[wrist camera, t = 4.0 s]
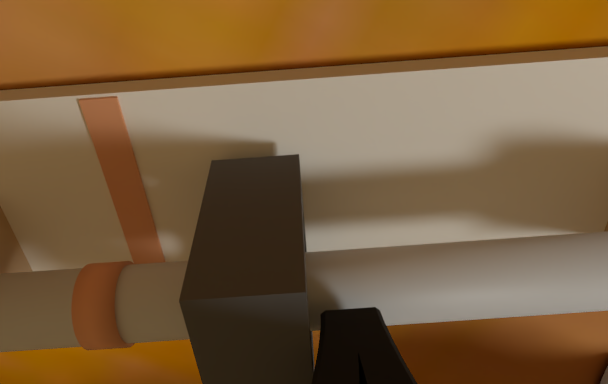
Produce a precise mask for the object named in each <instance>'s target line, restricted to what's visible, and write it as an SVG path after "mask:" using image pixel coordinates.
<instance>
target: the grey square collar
mask: <svg viewBox="0 0 608 384" xmlns="http://www.w3.org/2000/svg"><path fill="white" fill-rule="evenodd" d="M305 252H307V248H306V236H305V223H304V210H303V198H302V185H301V172H300V160H299V154H295V155H281V156H267V157H253V158H239V159H225V160H212V161H211V165H210V170H209V174H208V178H207V182H206V187H205V191H204V195H203V200H202V204H201V208H200V212H199V217H198V221H197V225H196V230H195V234H194V238H193V242H192V247H191V251H190V255H189V260H188V264H187V268H186V272H185V277H184V281H183V285H182V290H181V294H180V298H179V303H180V307H181V310H182V314H183V317H184V321H185V324H186V328H187V331H188V335H189V338H190V341H191V345H192V348H193V352H194V355H195V359H196V362H197V366H198V369H199V373H200V376H201V380H202V383H203V384H311V383H312V379H313V374H314V353H313V336H312V331H310V321H309V309H308V297H307V281H306V261H305Z"/></svg>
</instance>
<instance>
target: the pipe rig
mask: <svg viewBox="0 0 608 384" xmlns="http://www.w3.org/2000/svg"><path fill="white" fill-rule="evenodd" d="M295 154H299V160H300V172H301V185H302V198H303V210H304V223H305V236H306V248H307V252H305V261H306V281H307V297H308V309H309V321H310V331H315V330H320V328H321V317H320V314H321V313H323V312H324V311H325V310H339V309H354V308H368V307H376V308H377V309H379V310H380V312H381V314H382V317H383V319H384V322H385V324H386V326H388V325H403V324H418V323H432V322H447V321H461V320H476V319H491V318H505V317H520V316H534V315H549V314H564V313H578V312H593V311H607V310H608V46H602V47H588V48H575V49H561V50H547V51H533V52H520V53H506V54H492V55H478V56H465V57H451V58H437V59H423V60H410V61H396V62H382V63H369V64H355V65H341V66H327V67H314V68H300V69H286V70H272V71H259V72H245V73H231V74H217V75H204V76H190V77H176V78H162V79H149V80H135V81H121V82H107V83H94V84H80V85H66V86H52V87H39V88H25V89H11V90H0V352H9V351H23V350H38V349H53V348H67V347H83V348H84V349H86V350H98V349H112V348H127V347H131V346H132V345H134V343H140V342H155V341H169V340H184V339H190V338H189V335H188V331H187V328H186V324H185V321H184V317H183V314H182V310H181V307H180V303H179V298H180V294H181V290H182V285H183V281H184V277H185V272H186V268H187V264H188V260H189V255H190V251H191V247H192V242H193V238H194V234H195V230H196V225H197V221H198V217H199V212H200V208H201V204H202V200H203V195H204V191H205V187H206V182H207V178H208V174H209V170H210V165H211V161H212V160H225V159H239V158H253V157H267V156H281V155H295Z"/></svg>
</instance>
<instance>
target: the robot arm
mask: <svg viewBox="0 0 608 384" xmlns="http://www.w3.org/2000/svg"><path fill="white" fill-rule="evenodd" d="M320 317H321V328H320V340H319V348H318V354H317V360H316V365H315V370H314V374H313V379H312V383H311V384H417V382H416V381H415V379H414V377H413V376H412V374H411V372H410V371H409V369H408V367H407V366H406V364H405V362H404V360H403V358H402V356H401V355H400V353H399V351H398V349H397V347H396V345H395V343H394V341H393V339H392V337H391V335H390V333H389V331H388V329H387V326H386V324H385V322H384V319H383V317H382V314H381V312H380V310H379V309H377V308H376V307H368V308H354V309H339V310H325V311H324V312H323V313H321V314H320ZM600 384H608V366H607V368H606V371H605V373H604V375H603V377H602V380H601V382H600Z"/></svg>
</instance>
